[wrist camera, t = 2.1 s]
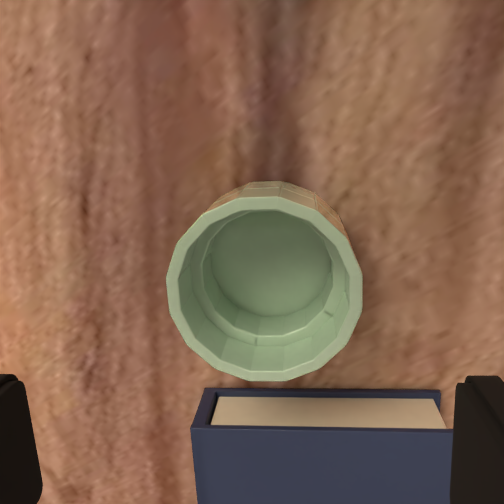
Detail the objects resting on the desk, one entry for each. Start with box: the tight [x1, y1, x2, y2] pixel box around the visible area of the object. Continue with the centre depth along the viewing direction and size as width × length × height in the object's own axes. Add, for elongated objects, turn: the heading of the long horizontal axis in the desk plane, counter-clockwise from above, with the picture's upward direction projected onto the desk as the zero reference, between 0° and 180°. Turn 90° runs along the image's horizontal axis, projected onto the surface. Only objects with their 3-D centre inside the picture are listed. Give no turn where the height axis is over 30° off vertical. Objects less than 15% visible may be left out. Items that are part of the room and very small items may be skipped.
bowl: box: [166, 181, 363, 382], centre depth 19 cm, size 7×7×5 cm
